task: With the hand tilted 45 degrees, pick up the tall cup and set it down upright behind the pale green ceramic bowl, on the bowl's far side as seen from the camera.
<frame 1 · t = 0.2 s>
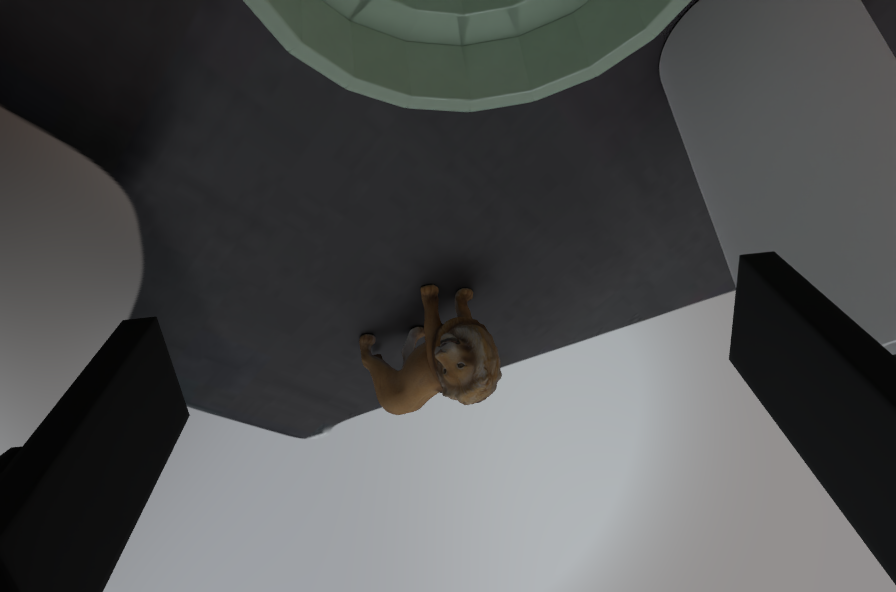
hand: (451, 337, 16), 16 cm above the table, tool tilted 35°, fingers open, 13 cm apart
lion figurine: (417, 303, 49), on the table
cup: (750, 38, 31), on the table
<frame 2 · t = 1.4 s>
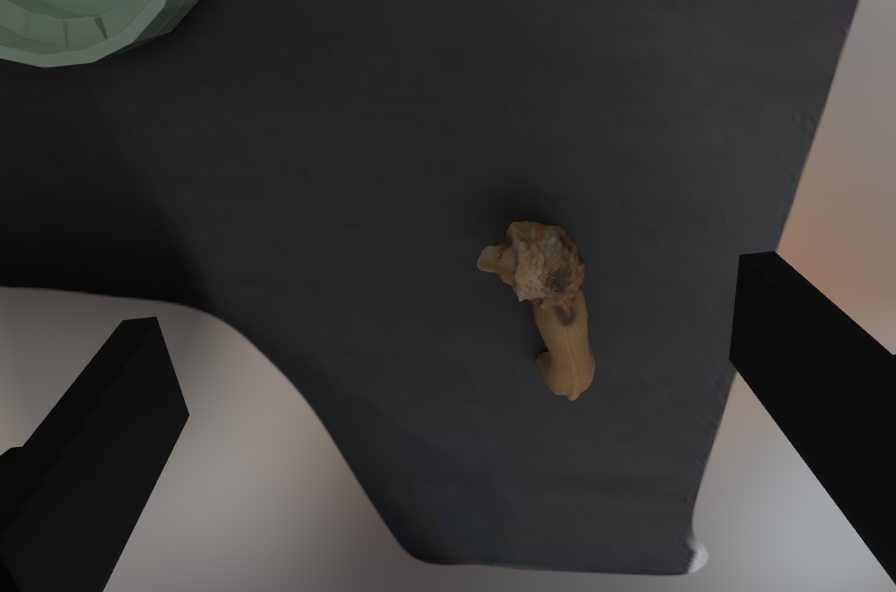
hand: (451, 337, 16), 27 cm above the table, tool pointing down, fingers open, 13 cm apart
lion figurine: (537, 282, 45), on the table
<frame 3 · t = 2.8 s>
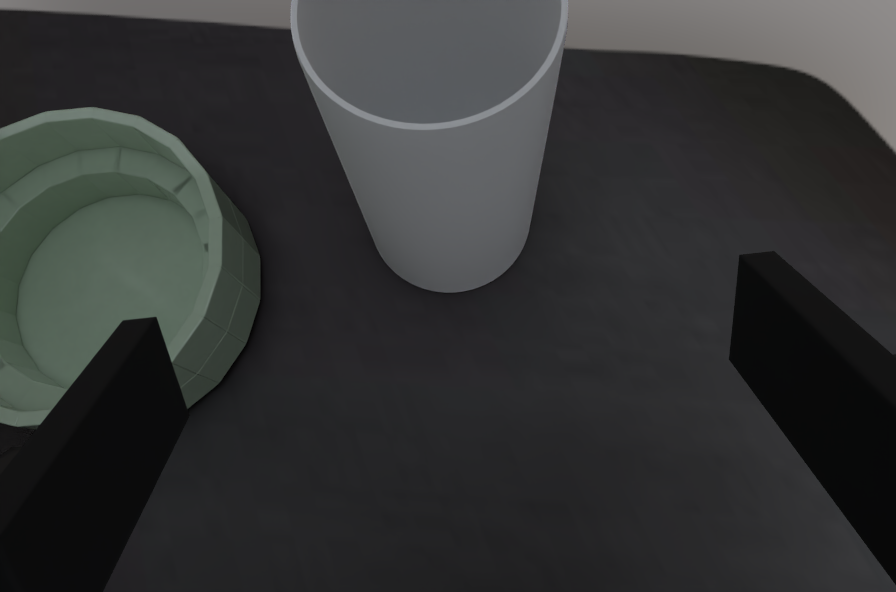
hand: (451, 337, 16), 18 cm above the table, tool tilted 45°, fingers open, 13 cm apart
ceramic bowl: (126, 294, 35), on the table
cup: (450, 217, 36), on the table
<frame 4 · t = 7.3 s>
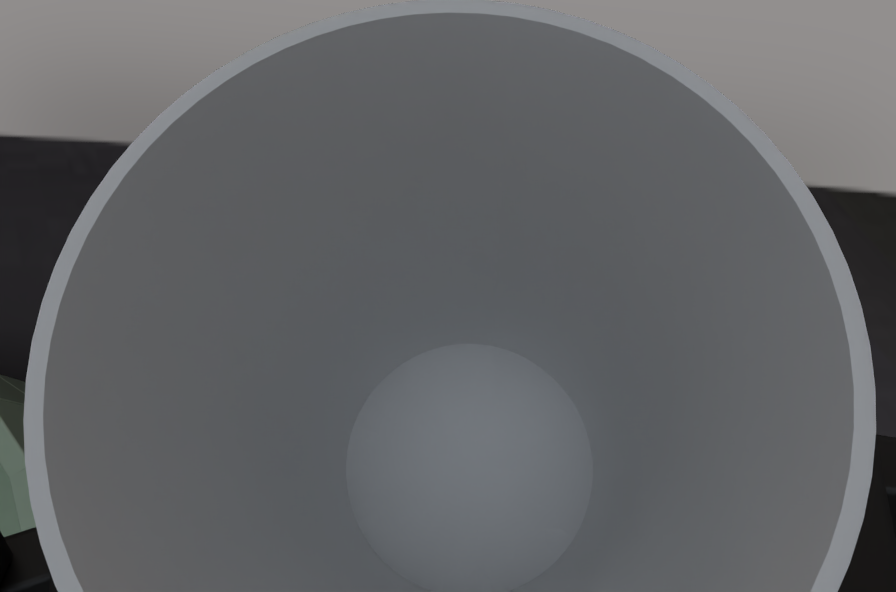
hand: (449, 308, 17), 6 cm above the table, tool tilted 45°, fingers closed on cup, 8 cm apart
cup: (468, 465, 22), on the table, touching gripper
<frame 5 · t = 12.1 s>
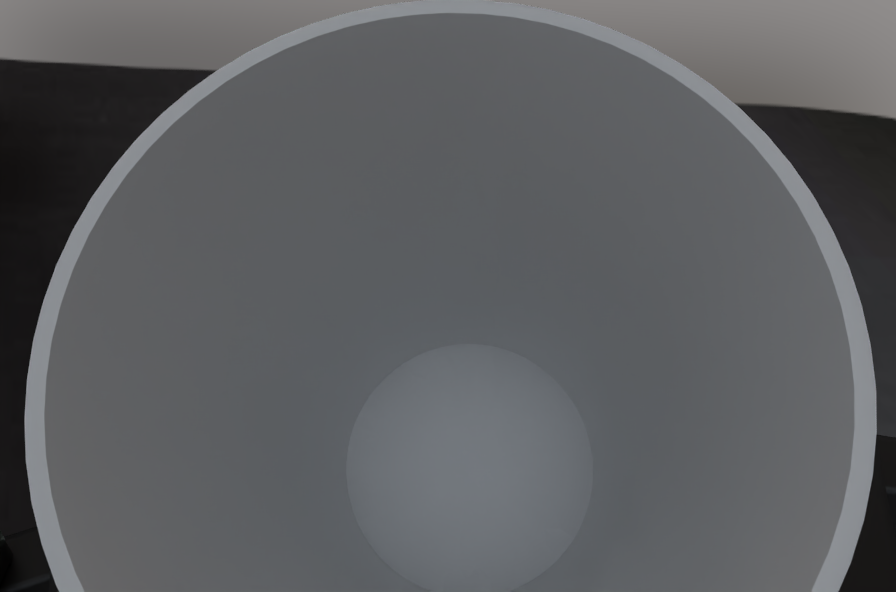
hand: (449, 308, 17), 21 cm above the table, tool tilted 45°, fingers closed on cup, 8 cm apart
cup: (468, 465, 22), point 14 cm above the table, touching gripper
when the fingers open (6 cm above the table, at t = 17.3 s): cup stays where it is, on the table.
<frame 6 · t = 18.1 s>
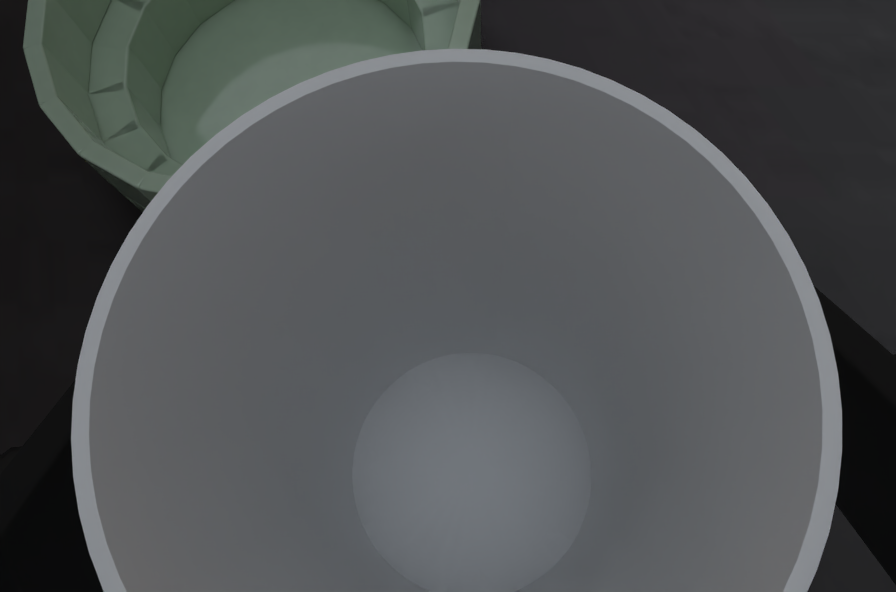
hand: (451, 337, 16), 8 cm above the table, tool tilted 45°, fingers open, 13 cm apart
ceramic bowl: (298, 102, 27), on the table
cup: (471, 470, 23), on the table
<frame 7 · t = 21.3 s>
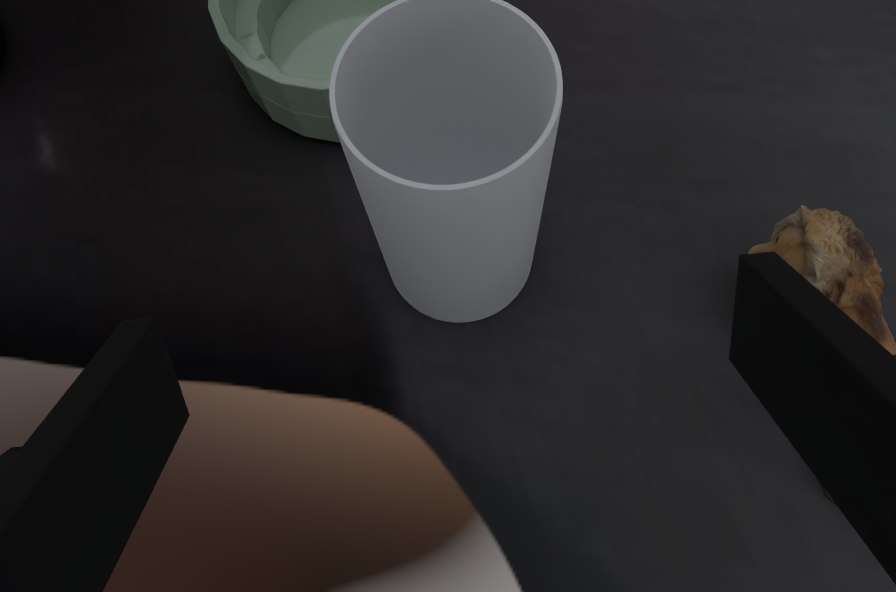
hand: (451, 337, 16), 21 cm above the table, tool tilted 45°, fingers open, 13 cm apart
lion figurine: (799, 380, 36), on the table
ceramic bowl: (354, 48, 44), on the table
cup: (459, 254, 39), on the table
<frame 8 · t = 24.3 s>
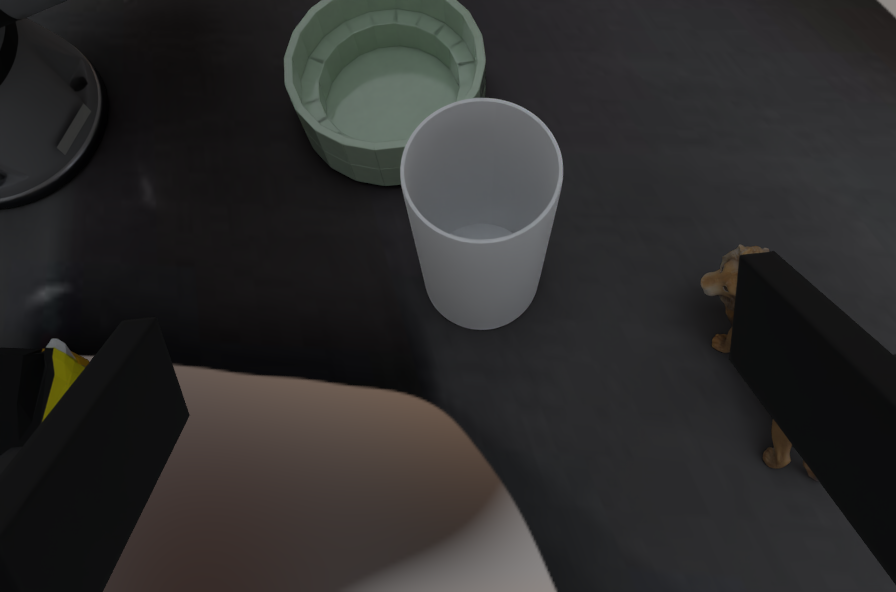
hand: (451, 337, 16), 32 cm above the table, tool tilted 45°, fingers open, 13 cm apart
lion figurine: (745, 374, 47), on the table
ceramic bowl: (394, 107, 54), on the table
yellow pouch: (17, 419, 48), on the table
cup: (481, 275, 50), on the table
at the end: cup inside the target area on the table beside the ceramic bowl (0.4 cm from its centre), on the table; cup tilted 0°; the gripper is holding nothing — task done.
